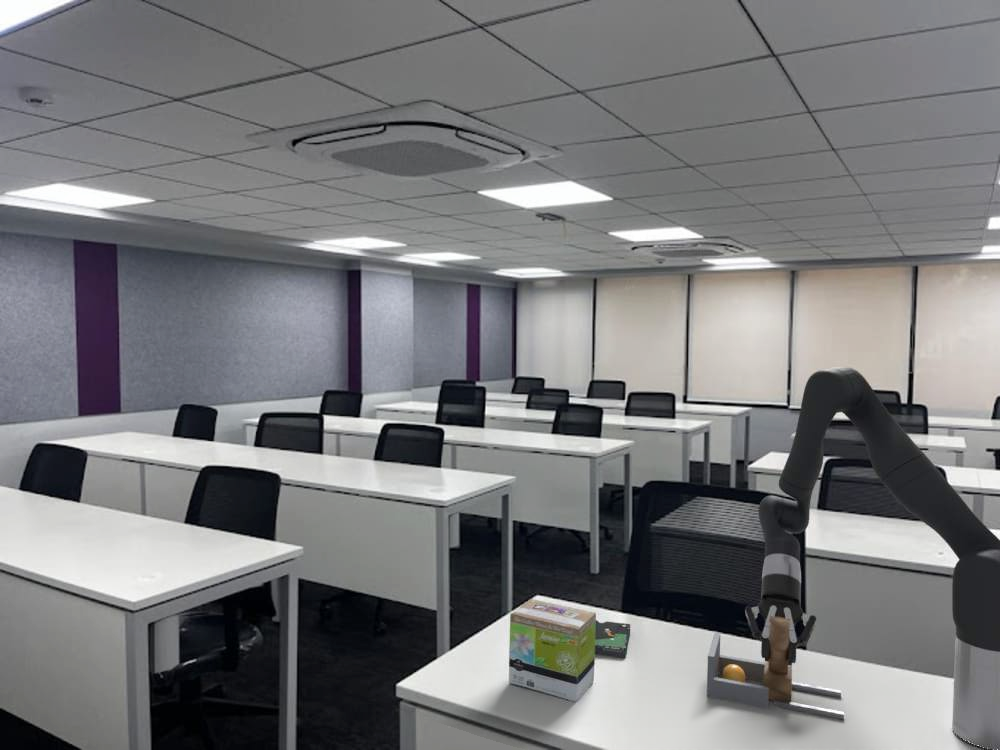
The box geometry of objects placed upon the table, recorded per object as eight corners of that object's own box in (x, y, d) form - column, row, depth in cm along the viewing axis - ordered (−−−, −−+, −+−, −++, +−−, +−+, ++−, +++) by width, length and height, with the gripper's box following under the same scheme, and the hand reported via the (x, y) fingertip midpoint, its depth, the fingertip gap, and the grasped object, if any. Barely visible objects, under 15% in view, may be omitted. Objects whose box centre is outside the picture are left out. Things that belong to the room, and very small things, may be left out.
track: (840, 695, 138) (840, 690, 138) (843, 720, 129) (844, 714, 129) (775, 683, 143) (775, 678, 143) (773, 706, 134) (773, 701, 134)
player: (791, 689, 140) (793, 616, 139) (791, 703, 134) (793, 627, 134) (764, 684, 142) (766, 612, 141) (763, 697, 136) (765, 623, 136)
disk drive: (587, 630, 170) (579, 655, 156) (587, 618, 170) (579, 642, 156) (630, 635, 168) (626, 660, 154) (630, 623, 168) (627, 647, 154)
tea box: (507, 685, 141) (508, 612, 140) (528, 665, 149) (529, 597, 149) (577, 704, 134) (578, 627, 133) (595, 682, 142) (597, 610, 142)
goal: (770, 680, 144) (771, 641, 144) (767, 708, 133) (769, 666, 133) (713, 669, 149) (714, 632, 148) (706, 696, 137) (707, 655, 137)
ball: (723, 668, 145) (744, 678, 143) (717, 685, 142) (739, 696, 140) (728, 656, 142) (750, 666, 141) (723, 673, 139) (745, 684, 138)
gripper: (745, 567, 147) (739, 647, 136) (819, 577, 141) (819, 660, 131) (745, 585, 152) (740, 663, 141) (817, 594, 146) (817, 676, 136)
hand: (778, 661), depth 136 cm, fingers closed on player, 3 cm apart
